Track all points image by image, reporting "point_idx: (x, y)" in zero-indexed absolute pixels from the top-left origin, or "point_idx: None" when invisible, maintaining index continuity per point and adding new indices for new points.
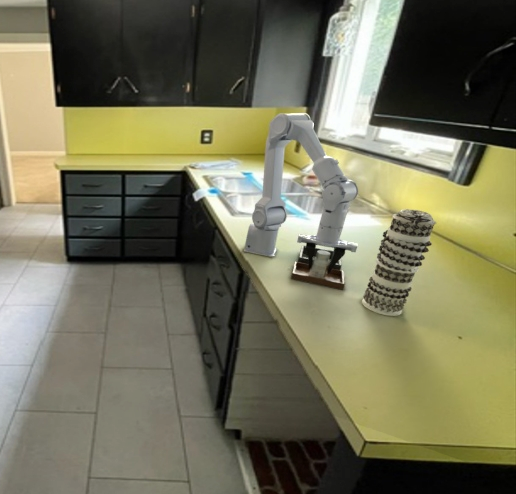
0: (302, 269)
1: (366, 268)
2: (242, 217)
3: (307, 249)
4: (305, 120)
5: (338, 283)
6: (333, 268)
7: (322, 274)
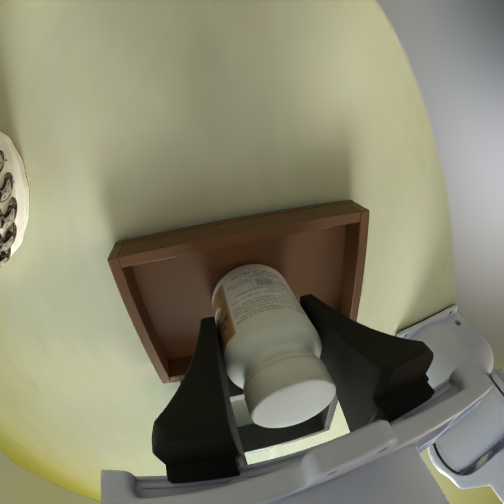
0: None
1: (134, 433)
2: None
3: (419, 344)
4: None
5: (136, 251)
6: None
7: (233, 288)
